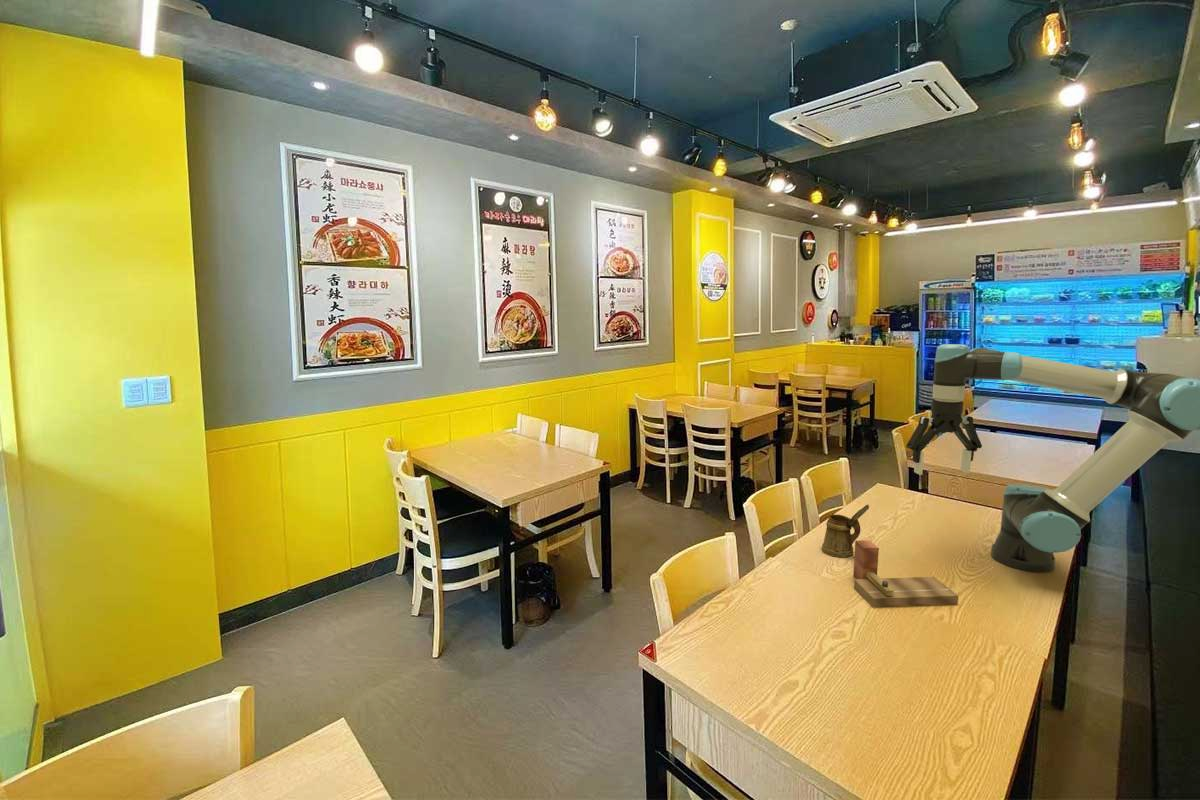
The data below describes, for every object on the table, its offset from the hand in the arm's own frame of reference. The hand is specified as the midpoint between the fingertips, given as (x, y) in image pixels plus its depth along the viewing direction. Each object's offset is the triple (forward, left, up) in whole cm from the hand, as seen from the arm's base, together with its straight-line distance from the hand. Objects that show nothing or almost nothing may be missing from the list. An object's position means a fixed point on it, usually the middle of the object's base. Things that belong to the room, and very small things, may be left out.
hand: (941, 472), depth 154 cm
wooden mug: (+22, -10, -29) cm, 38 cm away
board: (+18, +16, -29) cm, 37 cm away
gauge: (+24, +13, -29) cm, 40 cm away
